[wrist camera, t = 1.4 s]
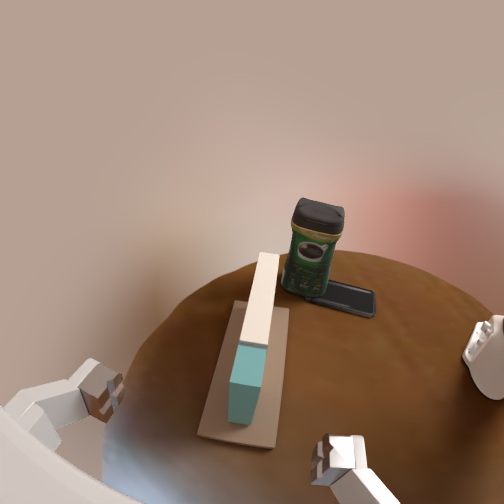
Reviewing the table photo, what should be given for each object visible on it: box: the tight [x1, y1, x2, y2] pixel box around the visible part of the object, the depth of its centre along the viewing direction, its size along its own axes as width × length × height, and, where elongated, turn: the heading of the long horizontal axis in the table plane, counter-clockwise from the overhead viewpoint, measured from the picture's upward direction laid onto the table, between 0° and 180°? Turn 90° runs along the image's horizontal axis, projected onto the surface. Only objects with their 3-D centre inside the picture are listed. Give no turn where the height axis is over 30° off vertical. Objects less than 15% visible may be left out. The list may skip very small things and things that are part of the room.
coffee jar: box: [281, 198, 344, 298], centre depth 51 cm, size 10×8×19 cm
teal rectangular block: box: [228, 342, 268, 425], centre depth 29 cm, size 5×3×12 cm, turn 171°
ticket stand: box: [197, 252, 289, 449], centre depth 36 cm, size 26×10×13 cm, turn 171°
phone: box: [305, 280, 376, 318], centre depth 54 cm, size 8×1×15 cm
